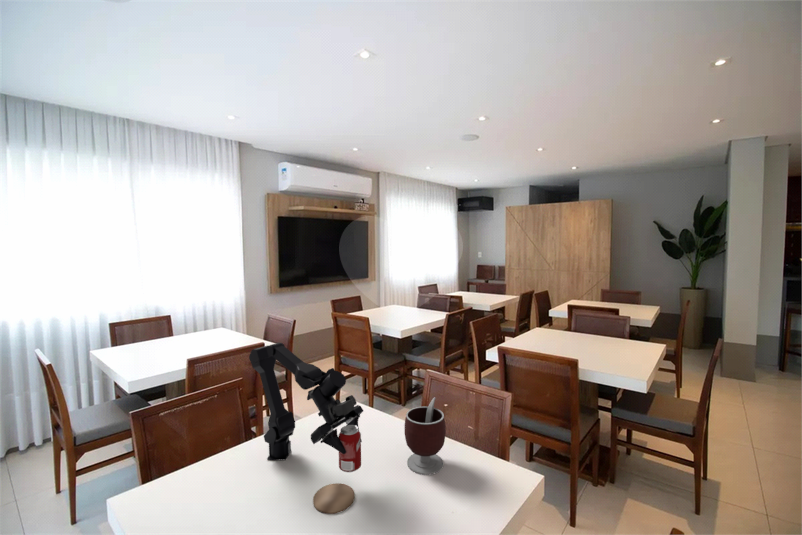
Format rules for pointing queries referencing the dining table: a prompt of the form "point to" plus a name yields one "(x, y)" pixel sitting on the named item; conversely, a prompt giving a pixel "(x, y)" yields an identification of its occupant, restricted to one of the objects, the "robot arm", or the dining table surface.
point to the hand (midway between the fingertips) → (353, 447)
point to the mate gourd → (425, 438)
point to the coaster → (333, 498)
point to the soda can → (350, 448)
